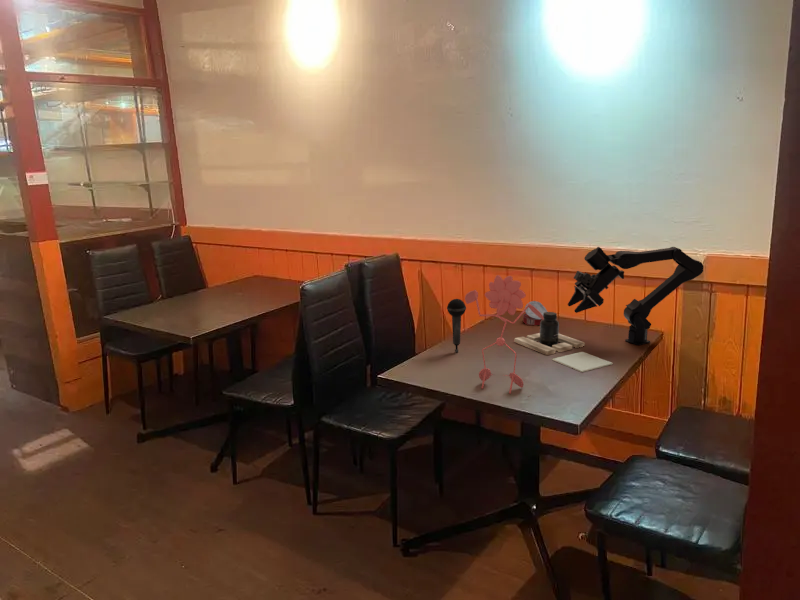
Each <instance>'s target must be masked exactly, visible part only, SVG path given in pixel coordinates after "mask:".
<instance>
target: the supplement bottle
mask: <svg viewBox="0 0 800 600" xmlns="http://www.w3.org/2000/svg"><path fill="white" fill-rule="evenodd" d="M557 315H558V313H557V312H554V311H547V312H544V313H543V318H544V320H541V322H540V326H539V333H540V341H539V343H541V344H543V345H546V346H549V347H551V348H552V345H556V344H559V342H558V336H559V334H560V323H559V320H557V319H558V317H557Z"/></svg>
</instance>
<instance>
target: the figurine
mask: <svg viewBox="0 0 800 600" xmlns="http://www.w3.org/2000/svg"><path fill="white" fill-rule="evenodd" d="M521 286H522V282H521V281H519V280H513V276H512V275H507V276H505V278H502V276H501V275H499V274H498V275H497V274H496V276H495V277H494V280H493V281H490V282H489V283H488V287H489V291H486V292H485V293H484V297H485V298H486V299H487V300H488V301H490V302H489V308H491V309H496V314H481V311H480V306H479V300H478V298H479V292H478V291H477V290H476V289H474V290H470V291H468V292H467V293H466V294H465V296H464V301H465V304H467V305H469V304H471V303H473V302H474V303H476V308H477V312H478V313H477V314H478V315H479V316H478V317H496V318H499V319H500V320H501V321H502V322H504V325H503V327H502V331H501V334H500V337H498V338H496V341H495V342H494V343H491V344H489V345H488V346H486V347H484V348H482V349H481V352H482V360H483V366H484V368H482V369H480V371H479V373H478V376H479V377H478V378H479V379H480V380H481V381H482V384H481V389H482V390H483V389H484V385H485V382H486V381H487V380H489V379H490V378H491V376H492V372H491V369H490V368H488V367H486V360H485V353H484V351H485V350H486V349H488V348H490V347H492V346H494V345H495V344H496V345H497V346H499V347H503V346H504V345H505V346H506V347H508V348H509V350H511V351H512V352H513V353H514V354H515V355H514V364H513V372H509V374H504V375H505V376H507V377H509V378H510V385H509V386H510V387H509V391H508V394H512V389H513V385H514V384H515V385H516V386H518V387H520V388H522V389H523V387H524V381H523V378H521V377H520V376H519V375H518V374H516V363H517V352H516V351H515V350H514V349H513V348H511V347H510V346H509V345H508V344H507V343H506V340H505V339H504V337H503V335H504V331H505V329H506V326H507V324H508V323H510V324H512V325H514V324H515V323H517V321H518V320H519V319H520V318H521V316H523V315H524V314H525V313H526V312H525V311H526V309H527V308H528V307H529V308H530V309H531V311H532V312H533V313H535V314H536V315H537V316H538V317H540V318H541V319H542V320H544V318H543V315H542V314H541V313H540V312H539V311H538V310H537V309H536V308H535V307H534V306H532V305H531V304H530V303H529V302H528V303H527V304H528V305H527V304H526V305H527V307H526V308H525V307H524V304H523V300H522V299H524V298H526V293H525V292H524V291H523V290H522V289H520V288H521ZM523 308H524V309H523ZM517 309H522V311H521V312H520V313H519V315H518V316H517V317H516V318H515V319H514V321H512V320H510V319H507V318H506V317H503V316H502V315H505V314H506V312H507V313H508V314H509V315H510V316H515V313H516V312H517ZM505 376H504V377H505ZM530 397H531V395H529V396H527V398H530Z"/></svg>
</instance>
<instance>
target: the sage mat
mask: <svg viewBox="0 0 800 600" xmlns="http://www.w3.org/2000/svg"><path fill="white" fill-rule="evenodd" d="M552 361H554V362H556V363H558V364H561V365H563V366H565V367H567V368H569V369H572V368H573V369H572V370H575V371H577V372H580V373H586V372H588V371H593V370H597V369H600V368H604V367H608V366H612V365H613V362H611V361H609V360H606V359H604V358H600V357H598V356H595V355H592V354H589V353H587V352H584V351H579V352H576V353H575V352H574V353H571V354H567V355H566V354H565V355H562V356H558V357H555V358H552Z"/></svg>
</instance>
